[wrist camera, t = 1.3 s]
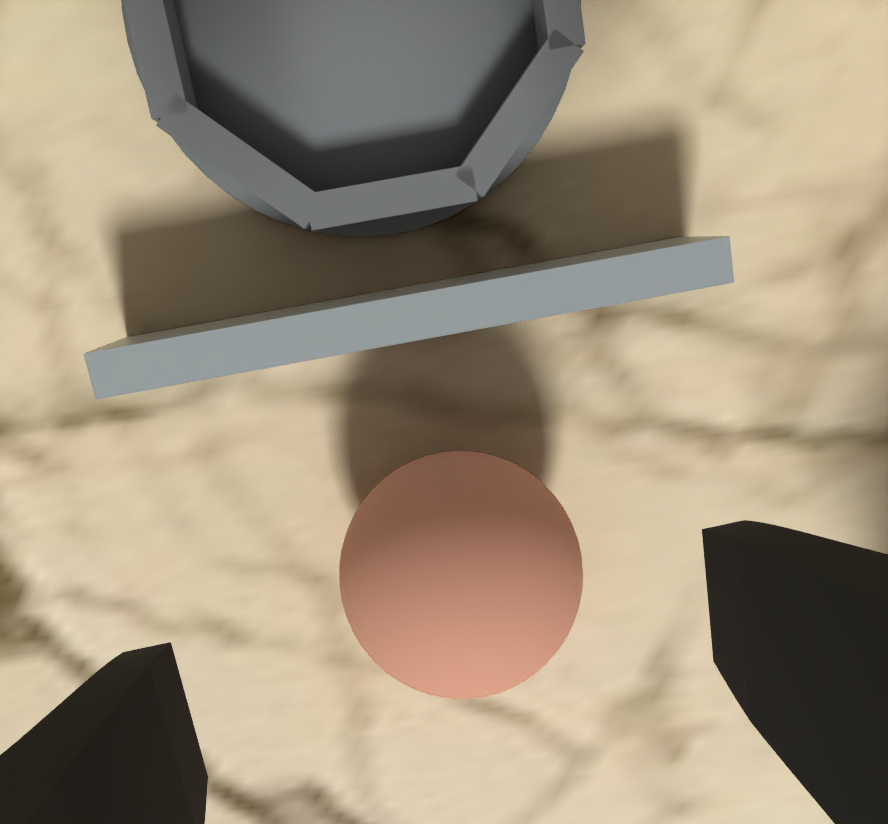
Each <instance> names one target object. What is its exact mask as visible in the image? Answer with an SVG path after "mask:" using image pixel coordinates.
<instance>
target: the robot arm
mask: <svg viewBox="0 0 888 824" xmlns="http://www.w3.org/2000/svg"><path fill="white" fill-rule="evenodd" d="M702 535H703V546H704V558H705V569H706V581H707V592H708V603H709V615H710V626H711V637H712V649H713V660H714V663H715V665H716V666H717V668H718V670H719V671H720V673H721V675H722V676H723V678H724V680H725V681H726V683H727V685H728V687H729V688H730V690H731V692H732V693H733V695H734V696H735V698H736V700H737V701H738V703H739V704H740V706H741V707H742V709H743V711H744V712H745V714H746V715H747V717H748V718H749V720H750V721H751V723H752V724H753V725H754V726H755V728H756V729H757V730H758V731H759V733H760V734H761V735H762V736H763V738H764V739H765V740H766V741H767V743H768V744H769V745H770V746H771V747H772V749H773V750H774V751H775V752H776V754H777V755H778V756H779V757H780V758H781V760H782V761H783V762H784V763H785V765H786V766H787V767H788V768H789V769H790V771H791V772H792V773H793V774H794V775H795V777H796V778H797V779H798V780H799V781H800V783H801V784H802V785H803V786H804V787H805V789H806V790H807V791H808V792H809V793H810V795H811V796H812V797H813V798H814V799H815V800H816V802H817V803H818V804H819V805H820V806H821V808H822V809H823V810H824V811H825V812H826V814H827V815H828V816H829V817H830V818H831V820H832V821H833V822H834V823H835V824H888V554H884V553H880V552H876V551H872V550H869V549H865V548H861V547H857V546H853V545H850V544H846V543H842V542H838V541H835V540H831V539H827V538H823V537H820V536H816V535H812V534H808V533H804V532H801V531H797V530H793V529H789V528H784V527H780V526H776V525H771V524H766V523H761V522H754V521H746V520H744V521H739V522H734V523H730V524H725V525H720V526H716V527H711V528H706V529H702ZM207 782H208V775H207V772H206V768H205V765H204V761H203V757H202V754H201V750H200V747H199V743H198V739H197V736H196V732H195V728H194V725H193V721H192V718H191V714H190V710H189V707H188V703H187V699H186V696H185V692H184V689H183V685H182V681H181V678H180V674H179V670H178V667H177V663H176V660H175V656H174V652H173V649H172V645H171V642H170V643H165V644H160V645H155V646H151V647H146V648H141V649H137V650H132V651H127V652H123V653H121V654H120V655H118V656H117V657H115V658H114V659H112V660H111V661H110V662H109V663H107V664H106V665H105V666H103V667H102V668H101V669H100V670H99V671H97V672H96V673H95V674H94V675H93V676H91V677H90V678H89V679H88V680H87V681H86V682H85V683H83V684H82V685H81V686H80V687H79V688H78V689H76V690H75V691H74V692H73V693H72V694H71V695H70V696H69V697H67V698H66V699H65V700H64V701H63V702H62V703H61V704H59V705H58V706H57V707H56V708H55V709H54V710H53V711H51V712H50V713H49V714H48V715H47V716H46V717H45V718H43V719H42V720H41V721H40V722H39V723H38V724H37V725H35V726H34V727H33V728H32V729H31V730H30V731H29V732H27V733H26V734H25V735H24V736H23V737H22V738H20V739H19V740H18V741H17V742H16V743H15V744H13V745H12V746H11V747H10V748H8V749H7V750H6V751H5V752H4V753H2V754H1V755H0V824H204V823H205V811H206V796H207Z"/></svg>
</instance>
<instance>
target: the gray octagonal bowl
mask: <svg viewBox="0 0 888 824" xmlns="http://www.w3.org/2000/svg"><path fill="white" fill-rule="evenodd" d="M121 1H122V13H123V18H124V24H125V30H126V35H127V41H128V45H129V48H130V51H131V55H132V58H133V61H134V64H135V68H136V71H137V74H138V76H139V78H140V81H141V83H142V85H143V88H144V90H145V93H146V98H147V102H148V106H149V110H150V114H151V119H153V120H155V121H157V122H158V123H157V125H156V126H158V127H159V128H160V129H162V130H163V131H165V132H166V133H168V134H169V135H171V137H172V138H173V139H174V140H175V142H176V143H177V144H178V146H179V147H180V148H181V150H182V151H183V152H184V153H185V155H186V156H187V157H188V158H189V159H190V160H191V161H192V162H193V163H194V164H195V165H196V166H197V167H198V168H199V169H200V170H201V171H202V172H203V173H204V174H205V175H206V176H207V177H208V178H209V179H211V180H212V181H213V182H214V183H216V184H217V185H218V186H220V187H221V188H222V189H223V190H225V191H226V192H227V193H228V194H230V195H231V196H232V197H234V198H236V199H237V200H239V201H241V202H242V203H244V204H246V205H247V206H249V207H251V208H252V209H254V210H256V211H257V212H260V213H262V214H264V215H266V216H269V217H271V218H273V219H275V220H278V221H280V222H282V223H285V224H288V225H292V226H295V227H298V228H302V229H305V230H308V231H312V232H318V233H324V234H331V235H337V236H359V237H372V236H381V235H390V234H398V233H402V232H406V231H410V230H414V229H418V228H422V227H425V226H428V225H430V224H433V223H436V222H438V221H441V220H443V219H446V218H448V217H451V216H453V215H454V214H456V213H458V212H460V211H461V210H463V209H465V208H467V207H469V206H470V205H472V204H474V203H476V202H477V201H478V200H480V199H481V198H482V197H484V196H485V195H486V194H488V193H489V192H490V191H492V190H493V189H494V188H496V187H497V186H498V185H500V184H501V183H502V182H503V181H504V180H505V179H506V178H507V177H508V176H509V175H510V174H511V173H512V172H513V171H514V170H515V169H516V168H517V167H518V166H519V165H520V164H521V163H522V161H523V160H524V159H525V157H526V156H527V155H528V154H529V152H530V151H531V150H532V149H533V147H534V146H535V145H536V143H537V142H538V141H539V139H540V137H541V136H542V134H543V132H544V131H545V129H546V127H547V126H548V124H549V122H550V121H551V119H552V117H553V116H554V113H555V111H556V109H557V106H558V104H559V102H560V100H561V97H562V95H563V93H564V91H565V88H566V85H567V82H568V78H569V75H570V72H571V69H572V67H573V66H574V65H575V63H576V62H577V60H578V59H579V57H580V56H581V54H582V53H583V50H581V49H580V48H581V47H582V46H584V45H585V44H586V43H585V36H584V28H583V20H582V12H581V0H121Z"/></svg>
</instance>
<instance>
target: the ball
mask: <svg viewBox="0 0 888 824" xmlns="http://www.w3.org/2000/svg"><path fill="white" fill-rule="evenodd" d="M582 583H583V570H582V558H581V551H580V547H579V542H578V539H577V536H576V533H575V531H574V528H573V526H572V523H571V521H570V519H569V517H568V515H567V514H566V512H565V510H564V508H563V506H562V505H561V504H560V502H559V501H558V500H557V498H556V497H555V496H554V495H553V493H552V492H551V491H550V490H549V489H548V488H547V487H546V486H545V485H544V484H543V483H542V482H541V481H540V480H539V479H537V478H536V477H535V476H533V475H532V474H531V473H530V472H528V471H527V470H525V469H523V468H521V467H520V466H518V465H516V464H514V463H512V462H509V461H507V460H505V459H502V458H500V457H496V456H493V455H489V454H485V453H480V452H472V451H449V452H441V453H436V454H432V455H428V456H424V457H421V458H419V459H416V460H414V461H411V462H409V463H407V464H405V465H403V466H402V467H400V468H398V469H396V470H395V471H394V472H392V473H391V474H389V475H388V476H387V477H385V478H384V479H383V480H382V481H381V482H380V483H379V484H378V485H377V486H376V487H375V488H374V489H373V490H372V491H371V492H370V493H369V494H368V495H367V497H366V498H365V499H364V500H363V502H362V503H361V505H360V506H359V508H358V509H357V511H356V513H355V514H354V516H353V518H352V521H351V523H350V525H349V527H348V530H347V533H346V536H345V539H344V543H343V547H342V550H341V558H340V591H341V598H342V603H343V606H344V610H345V613H346V616H347V619H348V621H349V624H350V626H351V628H352V630H353V633H354V635H355V636H356V638H357V640H358V641H359V643H360V644H361V646H362V647H363V649H364V650H365V651H366V652H367V653H368V655H369V656H370V657H371V658H372V659H373V660H374V662H375V663H376V664H377V665H378V666H380V667H381V668H382V669H383V670H384V671H385V672H386V673H388V674H389V675H390V676H392V677H393V678H395V679H396V680H398V681H399V682H401V683H403V684H405V685H407V686H409V687H411V688H413V689H415V690H418V691H421V692H424V693H426V694H430V695H434V696H438V697H443V698H453V699H472V698H479V697H485V696H489V695H493V694H497V693H500V692H503V691H505V690H508V689H510V688H513V687H514V686H516V685H518V684H520V683H522V682H524V681H525V680H527V679H528V678H530V677H531V676H532V675H534V674H535V673H537V672H538V671H539V670H540V669H541V668H542V667H543V666H544V665H545V664H547V662H548V661H549V660H550V659H551V658H552V657H553V656H554V654H555V653H556V652H557V651H558V650H559V648H560V647H561V645H562V644H563V642H564V641H565V639H566V638H567V636H568V634H569V632H570V630H571V627H572V625H573V623H574V620H575V617H576V614H577V611H578V608H579V604H580V599H581V593H582Z"/></svg>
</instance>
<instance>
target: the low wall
mask: <svg viewBox="0 0 888 824" xmlns="http://www.w3.org/2000/svg"><path fill="white" fill-rule="evenodd" d="M729 283H734V277H733V267H732V257H731V247H730V237H729V236H713V237H677V238H671V239H666V240H660V241H655V242H649V243H644V244H638V245H633V246H627V247H622V248H616V249H611V250H605V251H600V252H594V253H589V254H583V255H577V256H572V257H566V258H561V259H555V260H550V261H544V262H539V263H533V264H528V265H522V266H517V267H511V268H506V269H500V270H495V271H489V272H484V273H478V274H473V275H467V276H462V277H456V278H451V279H445V280H439V281H434V282H428V283H423V284H417V285H412V286H406V287H401V288H395V289H390V290H384V291H379V292H373V293H368V294H362V295H357V296H351V297H346V298H340V299H335V300H329V301H324V302H318V303H313V304H307V305H302V306H296V307H290V308H285V309H279V310H274V311H268V312H263V313H257V314H252V315H246V316H241V317H235V318H230V319H224V320H219V321H213V322H208V323H202V324H197V325H191V326H186V327H180V328H175V329H169V330H164V331H158V332H152V333H147V334H141V335H136V336H130V337H126V338H123V339H120V340H118V341H115V342H113V343H110V344H107V345H105V346H102V347H100V348H97V349H94V350H92V351H89V352H86V353H84V358H85V361H86V365H87V369H88V372H89V376H90V380H91V384H92V387H93V391H94V395H95V398H96V399H101V398H107V397H112V396H117V395H123V394H128V393H134V392H139V391H145V390H150V389H156V388H161V387H167V386H172V385H177V384H183V383H188V382H194V381H199V380H205V379H210V378H216V377H221V376H227V375H232V374H238V373H243V372H248V371H254V370H259V369H265V368H270V367H276V366H281V365H287V364H292V363H298V362H303V361H308V360H314V359H319V358H325V357H330V356H336V355H341V354H347V353H352V352H358V351H363V350H368V349H374V348H379V347H385V346H390V345H396V344H401V343H407V342H412V341H418V340H423V339H429V338H434V337H439V336H445V335H450V334H456V333H461V332H467V331H472V330H478V329H483V328H489V327H494V326H499V325H505V324H510V323H516V322H521V321H527V320H532V319H538V318H543V317H549V316H554V315H559V314H565V313H570V312H576V311H581V310H587V309H592V308H598V307H603V306H609V305H614V304H620V303H625V302H630V301H636V300H641V299H647V298H652V297H658V296H663V295H669V294H674V293H680V292H685V291H690V290H696V289H701V288H707V287H712V286H718V285H723V284H729Z"/></svg>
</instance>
